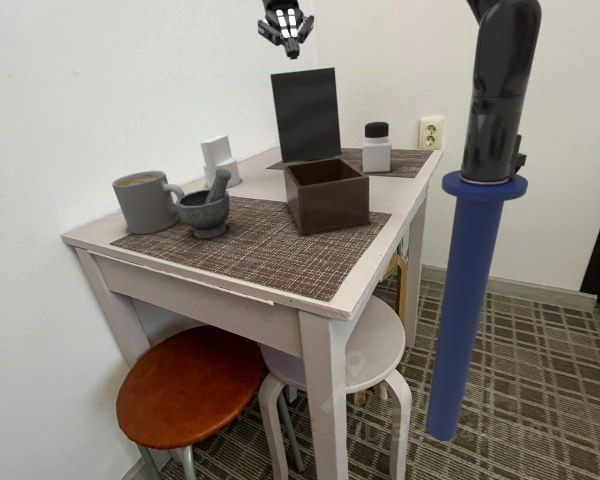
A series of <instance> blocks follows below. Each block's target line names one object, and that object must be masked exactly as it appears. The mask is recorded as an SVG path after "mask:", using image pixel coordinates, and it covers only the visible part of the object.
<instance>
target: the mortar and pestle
mask: <svg viewBox="0 0 600 480" xmlns="http://www.w3.org/2000/svg"><path fill="white" fill-rule="evenodd" d="M230 179H231V173H230V172H229V171H227V170H225V169H217V170H216V177H215V180H214V182H213V185H212V187H211V188H208V189H207V188H205V189H201V190H196V191H192V192H188V193H187V194H185V195H184V196H182V197H180V198H177V199H176V201H175V206H176V209H177V212H178V214H177V215H178V217H179V218H180V219H181V221H182V222H183V223H184V224H186V225H187V226H189V227H191V228H193V234H194V236H195V237H197V238H199V239H211V238H215V237H218V236H221V235H222V234H223V233H225V232H226V231H227V225H226V221H227V219H228V217H229V215H230V212H231V211H230V208H231V207H230V204H231V203H230V202H231V201H230V195H229V191H228V190H227V188H228V187H227V184H228V180H230Z"/></svg>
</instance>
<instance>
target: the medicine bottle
mask: <svg viewBox="0 0 600 480" xmlns="http://www.w3.org/2000/svg"><path fill="white" fill-rule="evenodd" d="M389 132H390V125H389V123H388V122H386V121H370V122H368V123H366V124H365V125H364V139H363V140H362V172H363V173H364V174H366V173H368V174H369V173H387V172H388V173H390V172H391V171H392V143H391V140H390V138H389V136H390V135H389V134H390V133H389Z"/></svg>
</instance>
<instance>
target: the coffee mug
mask: <svg viewBox="0 0 600 480" xmlns="http://www.w3.org/2000/svg"><path fill="white" fill-rule="evenodd" d="M111 186H112V188H113V192H114V194H115V196H116V200H117V201H118V204H119V207H120V210H121V213H122V214H123V217H124V221H125V223H126V225H127V229H128V230H129V232H130V233H132V234H135V235H145V234H146V235H147V234H153V233H156V232H160V231H162V230H166V229H168V228H170V227H172V226H173V225H175V224H176V223H177V222H178V220H179V214H178V212H177V209H176V206H175V204H176V202H174V198H173V196H172V193H174V194H175V195H176V198H177V199H178V198H180V197H182V196H184V195H186V194H185V192H184V190H183V189H182V187H180V186H179V185H177V184H172V183H169V182H168V178H167V175H166V172H165V171H163V170H147V171H145V170H144V171H139V172H135V173H130V174H127V175H124V176H121V177H119V178H117V179H115V180H113V181H112V183H111Z"/></svg>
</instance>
